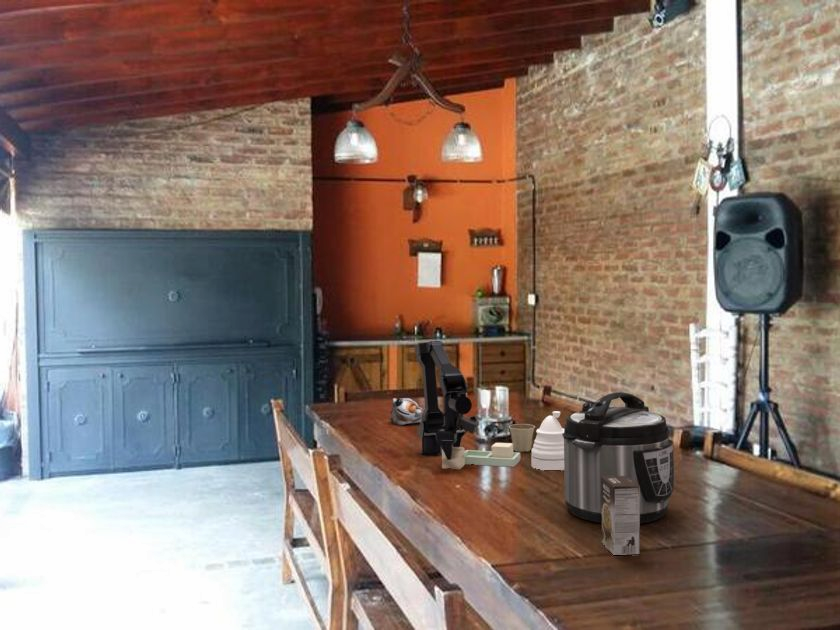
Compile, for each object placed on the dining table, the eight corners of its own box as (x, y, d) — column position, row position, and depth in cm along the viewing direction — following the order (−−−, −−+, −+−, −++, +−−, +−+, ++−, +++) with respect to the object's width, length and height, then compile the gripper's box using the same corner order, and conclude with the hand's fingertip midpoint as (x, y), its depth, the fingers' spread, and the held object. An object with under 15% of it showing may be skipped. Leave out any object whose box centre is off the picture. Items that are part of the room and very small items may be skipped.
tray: (458, 463, 279) (457, 446, 278) (466, 457, 288) (466, 440, 288) (514, 466, 272) (513, 448, 272) (520, 460, 282) (520, 442, 282)
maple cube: (442, 468, 273) (441, 450, 273) (447, 464, 279) (447, 446, 278) (459, 469, 271) (459, 451, 271) (464, 465, 277) (464, 447, 277)
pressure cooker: (586, 534, 203) (585, 405, 201) (543, 503, 230) (542, 389, 228) (697, 523, 209) (697, 398, 208) (643, 494, 237) (642, 383, 235)
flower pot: (534, 453, 291) (534, 429, 291) (507, 453, 293) (507, 428, 293) (536, 447, 301) (536, 424, 300) (510, 447, 302) (509, 423, 302)
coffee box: (600, 543, 196) (599, 475, 195) (627, 542, 196) (626, 474, 195) (612, 556, 187) (612, 485, 186) (640, 555, 187) (640, 484, 186)
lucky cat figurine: (428, 420, 358) (430, 395, 351) (415, 436, 349) (416, 410, 341) (397, 409, 364) (399, 383, 356) (384, 424, 354) (385, 398, 347)
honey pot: (575, 463, 276) (574, 409, 275) (565, 472, 264) (564, 416, 263) (538, 460, 281) (537, 407, 280) (526, 469, 269) (525, 413, 268)
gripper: (468, 415, 263) (469, 464, 263) (483, 405, 280) (483, 451, 281) (434, 414, 266) (435, 462, 267) (451, 404, 284) (452, 450, 285)
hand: (453, 456), depth 275 cm, fingers open, 9 cm apart
